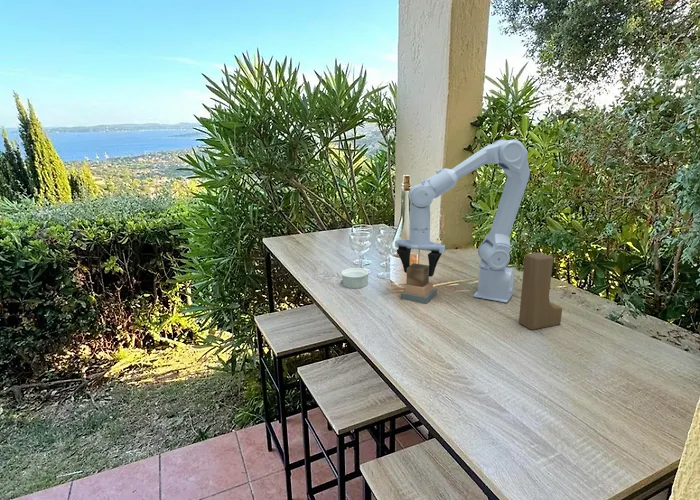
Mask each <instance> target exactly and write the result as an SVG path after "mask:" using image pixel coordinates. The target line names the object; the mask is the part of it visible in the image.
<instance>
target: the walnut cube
mask: <svg viewBox="0 0 700 500" xmlns="http://www.w3.org/2000/svg"><path fill="white" fill-rule="evenodd" d="M428 282H430V277H429V264H421V263H414V262H413V263H412V264H410V266H409V267H407V273H406V283H405V284H407V285H413V286H419V287H424V286H425V285H426V284H427V283H428Z"/></svg>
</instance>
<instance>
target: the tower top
mask: <svg viewBox="0 0 700 500" xmlns="http://www.w3.org/2000/svg"><path fill="white" fill-rule="evenodd" d="M433 288H434V282H433V281H429V282H428V283H427V284H426V285H425V286H424V287H419V286H413V285H407V284H406V283H405V285H404V290H405V293H409V294H414V295H418V296H422V297H424V296H426V295H427V294H429V293H430V292H431V291H433Z"/></svg>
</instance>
